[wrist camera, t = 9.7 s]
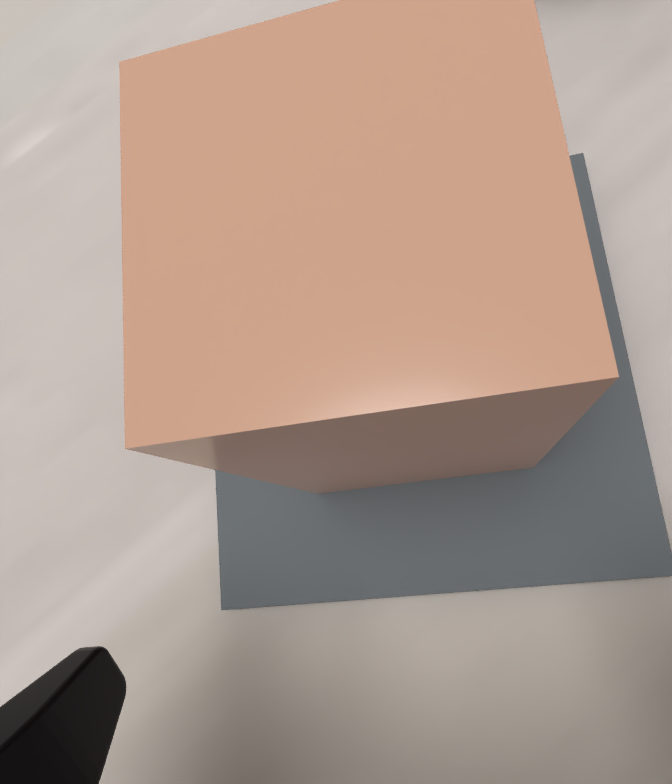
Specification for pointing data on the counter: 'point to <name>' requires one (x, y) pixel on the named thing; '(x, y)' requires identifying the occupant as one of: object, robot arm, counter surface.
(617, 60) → the counter surface
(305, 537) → the mat
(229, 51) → the tall salmon pink block
